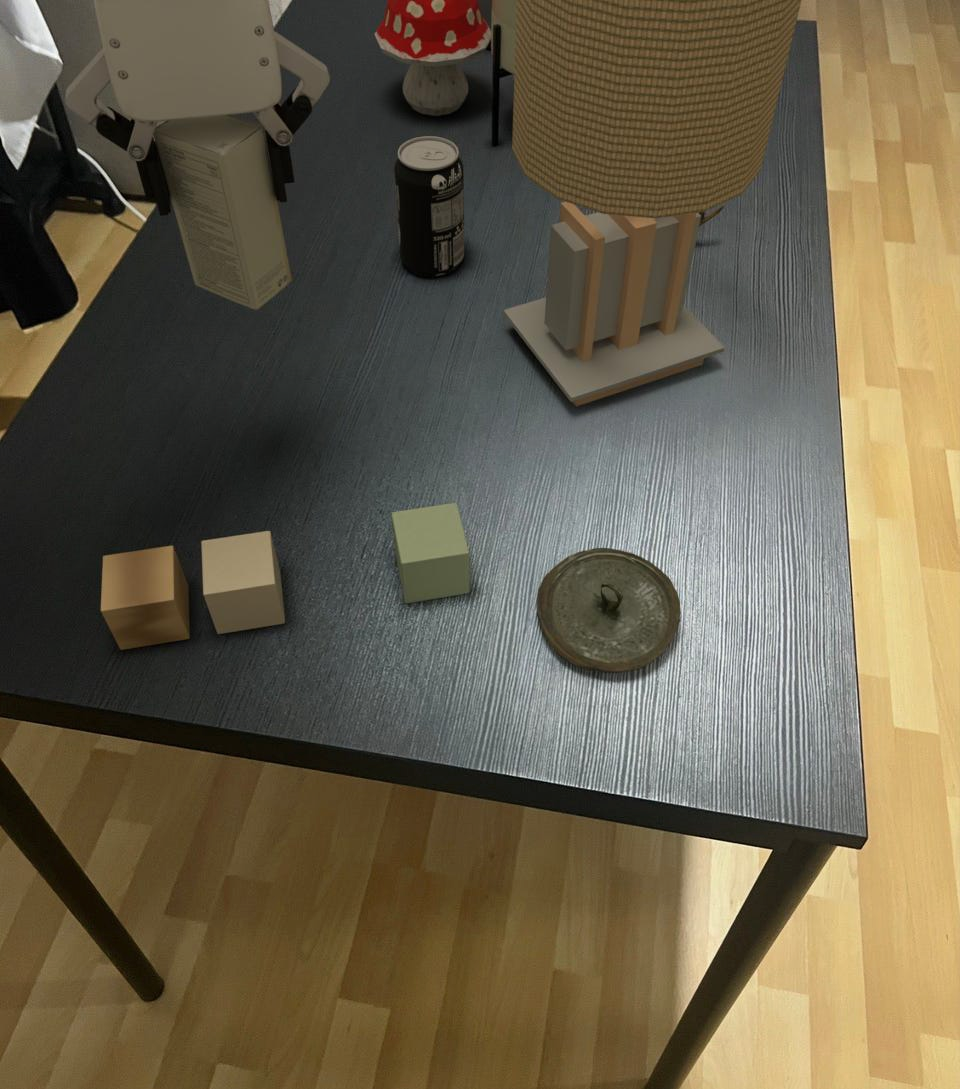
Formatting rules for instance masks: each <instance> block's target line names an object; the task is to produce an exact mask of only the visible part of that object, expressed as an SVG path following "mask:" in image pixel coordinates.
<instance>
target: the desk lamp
mask: <svg viewBox="0 0 960 1089" xmlns="http://www.w3.org/2000/svg"><path fill="white" fill-rule="evenodd" d="M801 4H802V0H517V8H516V41H515V74H513V75H514V76H513V80H514V81H513V109H512V110H513V111H512V112H513V113H512V142H511V147H512V148H511V151H512V153H513V155H514V157H515V159H516V161H517V163H518V165H519V167H520V169H521V171H522V173H523V175H524V177H526V178H527V179H528V180H530V181H531V182H533V183H534V184H536V185H537V186H539V187H540V188H541V189H542V190H544V191H545V192H546V193H548V194H550V195H551V196H553V197H554V198H555V199H557V200H560V201H562V202H560V208H559V209H560V210H559V222H557V223H553V224H550V229H549V230H550V233H549V247H548V262H547V276H546V277H547V278H546V292H545V297H542V298H540V299H536V300H532V301H529V302H526V303H522V304H518V305H515V306H512V307H509V308H508V307H507V308H506V309H503V312H502V314H503V316H504V317H505V318H506V320H507V321H508V322H509V324H510V325H511V326H512V328H513V329H514V330H515V331H516V333H517V334H518V335H519V337H520V338H521V339H522V340H523V342H524V343H525V345H526V346H527V347H528V349H530V351H531V352H532V353H533V355H534V356H535V357H536V359H537V360H538V361H539V363H540V364H541V365H542V366H543V368H544V369H545V370H546V372H547V373H548V374H549V375H550V377H551V378H552V379H553V381H554V382H555V383H556V385H558V388H560V390H561V391H562V392H563V394H564V395H565V396H566V398H567V399H568V400H569V402H570V403H572V404H573V405H574V406H575V407H579V406H581V405H585V404H588V403H591V402H594V401H598V400H600V399H603V398H606V397H609V396H613V395H616V394H618V393H621V392H624V391H628V390H630V389H634V388H636V387H639V386H642V385H643V386H644V385H645V384H649V383H652V382H654V381H657V380H661V379H664V378H667V377H670V376H673V375H675V374H679V373H682V372H684V371H687V370H690V369H694V368H696V367H700V366H702V365H703V363H704V359H706V358H708V357H712V356H715V355H717V354H721V353H724V352H725V346H724V345H723V344H722V343H721V342H720V341H719V340H718V339H717V338H716V337H715V336H714V334H713V333H711V331H709V329H707V327H706V326H705V325H704V324H703V323H702V322H701V321H700V320H699V319H698V318H697V317H696V316H695V315H694V314H693V313H692V312H691V310H690V309H688V308H687V307H686V305H685V300H686V296H687V289H688V285H689V280H690V275H691V270H692V264H693V259H694V255H695V249H696V245H697V239H698V234H699V230H700V227H699V225H700V220H701V215H700V214H699V213H698V212H705V213H706V212H707V211H709V210H711V209H713V208H716V207H718V206H721V205H723V204H724V203H726V202H728V201H731V200H732V199H735V198H738V197H739V196H742V195H743V194H744V193H745V191H746V190H747V189H748V187H749V186H750V185H751V184H752V183H753V181H754V180H755V179H756V177H757V176H758V175H759V173H760V172H761V170H762V166H763V161H764V158H765V153H766V150H767V146H768V142H769V141H768V140H769V137H770V133H771V129H772V125H773V120H774V116H775V113H776V108H777V105H778V104H777V103H778V100H779V96H780V92H781V88H782V83H783V79H784V74H785V71H786V68H787V67H786V66H787V62H788V59H789V58H788V57H789V55H790V50H791V46H792V42H793V38H794V33H795V29H796V25H797V21H798V17H799V12H800V8H801ZM577 206H578V207H581V208H584V209H587V210H589V211H592V212H593V211H594V213H590V214H586V215H585V214H584V213H583V212H582V211H581V210H580V208H578V207H577Z"/></svg>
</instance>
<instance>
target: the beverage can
mask: <svg viewBox="0 0 960 1089" xmlns="http://www.w3.org/2000/svg"><path fill="white" fill-rule="evenodd" d="M459 154H460V152H459V148H458V146H457V144H455V143H454V142H453V141H452V140H449V139H447V138H444V137H440V136H433V135H432V136H431V135H427V136H425V135H424V136H418V137H413V138H411V139H409V140H407V141H405V142H403V143H402V144H401V145H400V146H399V148H398V150H397V159H396V160H395V162H394V166H393V170H394V171H393V172H394V186H395V187H394V188H395V196H396V197H395V200H396V214H397V216H396V217H397V229H398V244H399V256H400V259H401V261H402V264H403V265H405V266H406V267H407V268H408V269H409V270H410V271H412V272H413V273H415V274H417V275H420V276H425V277H439V276H443V275H447V274H449V273H451V272H453V271H455V269H457V267H458V266H459V265H460V264H461V263H462V262H463V260H464V257H465V194H464V193H465V191H464V190H465V187H464V186H465V185H464V184H465V182H464V178H465V177H464V164H463V160H462V159H461V158H460V156H459Z"/></svg>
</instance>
